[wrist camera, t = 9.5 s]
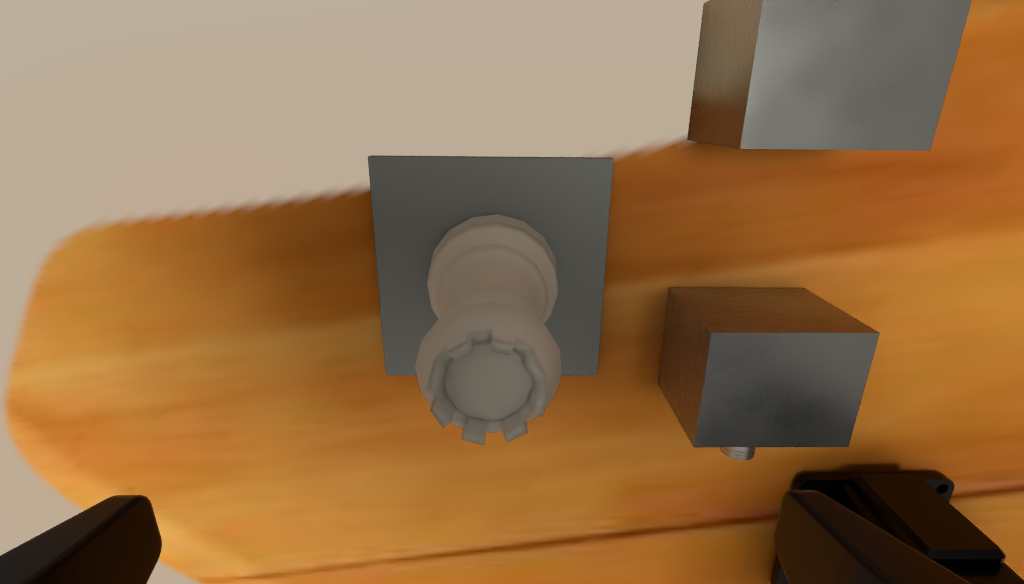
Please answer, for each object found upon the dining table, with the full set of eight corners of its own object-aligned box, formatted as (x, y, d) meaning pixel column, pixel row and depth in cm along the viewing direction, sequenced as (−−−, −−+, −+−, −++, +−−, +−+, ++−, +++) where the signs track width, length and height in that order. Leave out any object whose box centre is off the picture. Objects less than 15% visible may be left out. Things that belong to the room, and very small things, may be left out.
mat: (595, 370, 20) (597, 375, 19) (388, 370, 20) (386, 375, 19) (611, 157, 17) (613, 158, 17) (370, 155, 17) (367, 156, 17)
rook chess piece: (521, 350, 19) (533, 509, 12) (410, 300, 18) (345, 435, 11) (580, 246, 18) (637, 349, 10) (463, 188, 17) (432, 252, 9)
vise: (776, 418, 21) (837, 487, 17) (653, 418, 21) (687, 487, 17) (865, 5, 16) (979, -27, 12) (703, 3, 16) (767, -30, 12)
